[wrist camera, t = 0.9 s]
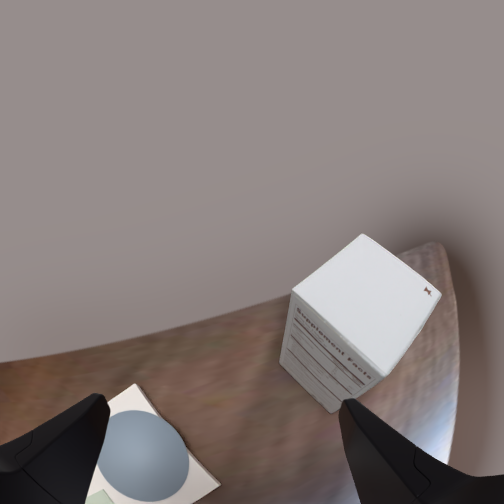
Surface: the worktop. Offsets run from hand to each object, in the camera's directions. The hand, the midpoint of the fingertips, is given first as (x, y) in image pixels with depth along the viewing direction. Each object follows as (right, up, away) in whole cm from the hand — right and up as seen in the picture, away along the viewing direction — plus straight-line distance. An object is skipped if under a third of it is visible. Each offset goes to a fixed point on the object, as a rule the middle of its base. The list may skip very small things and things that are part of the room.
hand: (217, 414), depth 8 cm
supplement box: (+9, -5, +15) cm, 18 cm away
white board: (-14, -17, +5) cm, 22 cm away
